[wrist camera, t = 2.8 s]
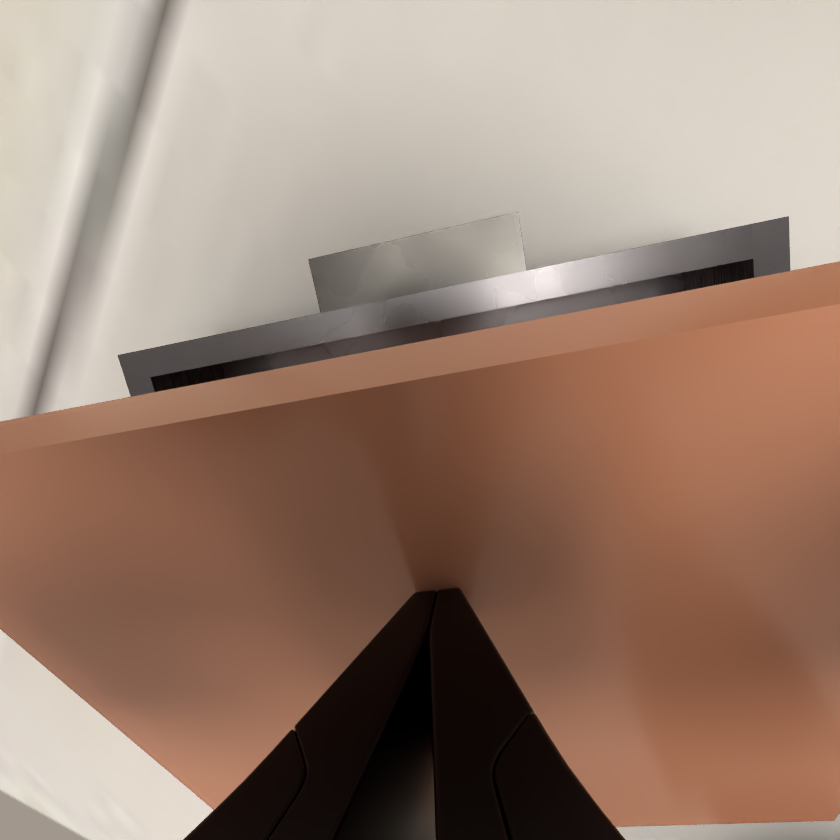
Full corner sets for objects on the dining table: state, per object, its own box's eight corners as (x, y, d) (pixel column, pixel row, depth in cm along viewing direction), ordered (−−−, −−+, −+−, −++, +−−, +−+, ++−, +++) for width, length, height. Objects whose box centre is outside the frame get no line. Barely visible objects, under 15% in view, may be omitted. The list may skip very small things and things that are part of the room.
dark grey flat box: (719, 650, 19) (803, 766, 14) (306, 684, 22) (258, 791, 17) (688, 195, 15) (786, 142, 11) (199, 303, 18) (99, 300, 13)
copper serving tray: (805, 770, 14) (834, 820, 13) (258, 794, 17) (246, 837, 16) (1096, 212, 6) (1237, 232, 5) (-98, 440, 8) (-171, 484, 7)
